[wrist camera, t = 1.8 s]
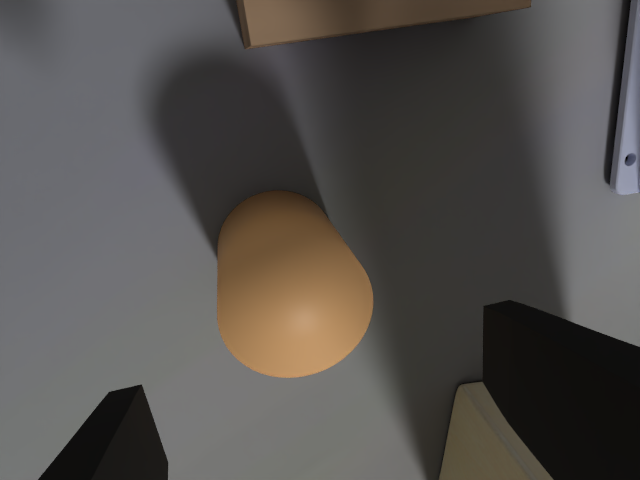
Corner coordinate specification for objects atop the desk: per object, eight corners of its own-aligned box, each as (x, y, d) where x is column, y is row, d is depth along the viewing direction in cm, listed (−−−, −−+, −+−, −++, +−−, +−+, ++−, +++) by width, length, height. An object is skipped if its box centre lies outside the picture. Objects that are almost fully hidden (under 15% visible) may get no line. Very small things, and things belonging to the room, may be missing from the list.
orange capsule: (339, 285, 19) (379, 358, 14) (230, 309, 18) (235, 393, 13) (326, 180, 17) (366, 223, 12) (205, 202, 16) (201, 256, 12)
